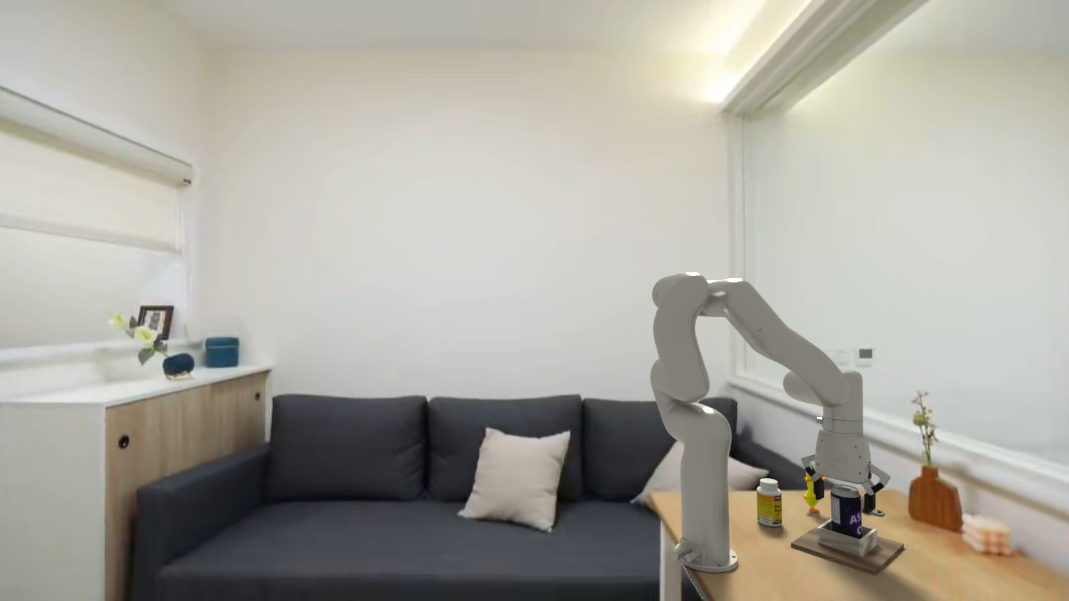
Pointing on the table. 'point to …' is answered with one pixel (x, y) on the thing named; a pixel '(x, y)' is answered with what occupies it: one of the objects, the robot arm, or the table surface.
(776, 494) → the supplement bottle
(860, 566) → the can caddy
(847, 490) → the beverage can
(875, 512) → the strap clip
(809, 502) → the toy figure
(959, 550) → the table surface
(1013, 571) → the table surface
